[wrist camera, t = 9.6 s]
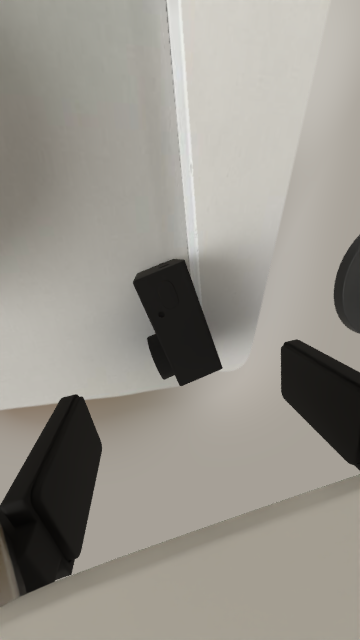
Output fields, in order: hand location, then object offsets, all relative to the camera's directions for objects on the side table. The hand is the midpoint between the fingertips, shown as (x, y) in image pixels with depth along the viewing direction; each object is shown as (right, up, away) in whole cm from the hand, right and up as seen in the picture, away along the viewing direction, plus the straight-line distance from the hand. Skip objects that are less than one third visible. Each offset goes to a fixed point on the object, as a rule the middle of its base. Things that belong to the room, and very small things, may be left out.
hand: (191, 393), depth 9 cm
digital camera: (-2, +5, +14) cm, 15 cm away
